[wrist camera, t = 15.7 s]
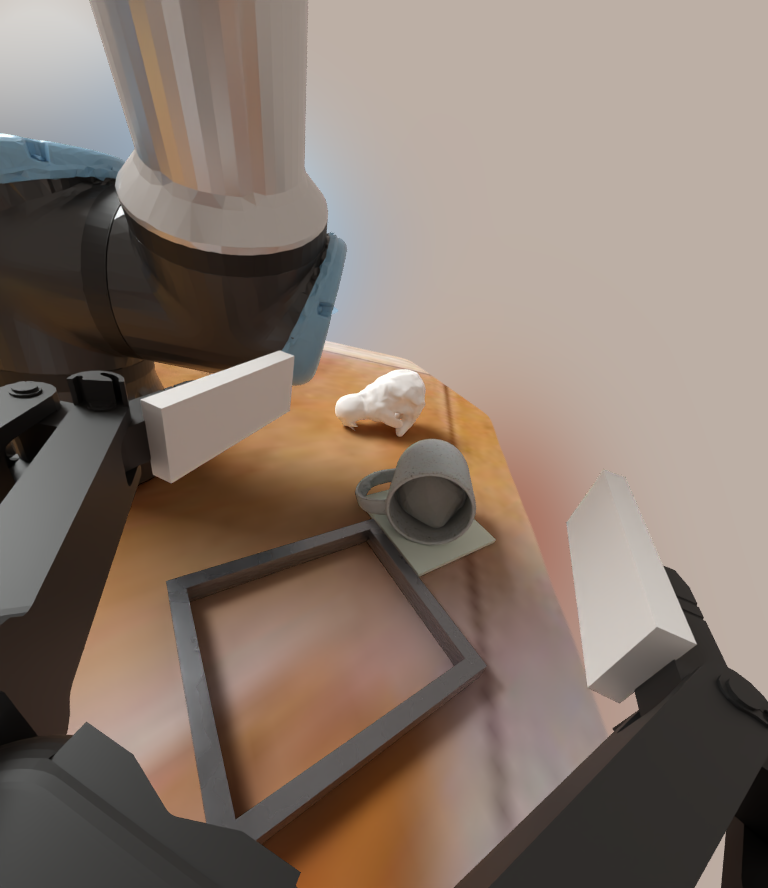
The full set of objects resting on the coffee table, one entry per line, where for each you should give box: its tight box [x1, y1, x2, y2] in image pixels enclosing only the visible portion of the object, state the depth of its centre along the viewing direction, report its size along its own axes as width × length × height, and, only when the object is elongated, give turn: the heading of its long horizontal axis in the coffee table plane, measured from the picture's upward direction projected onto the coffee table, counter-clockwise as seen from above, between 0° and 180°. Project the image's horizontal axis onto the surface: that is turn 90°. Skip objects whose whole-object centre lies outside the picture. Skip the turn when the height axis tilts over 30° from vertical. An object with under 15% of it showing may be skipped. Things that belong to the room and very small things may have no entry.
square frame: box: [166, 519, 487, 844], centre depth 23 cm, size 14×16×2 cm
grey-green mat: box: [365, 490, 496, 577], centre depth 35 cm, size 10×10×1 cm
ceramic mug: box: [355, 439, 476, 545], centre depth 33 cm, size 11×8×8 cm
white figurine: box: [335, 369, 426, 437], centre depth 48 cm, size 6×8×12 cm
